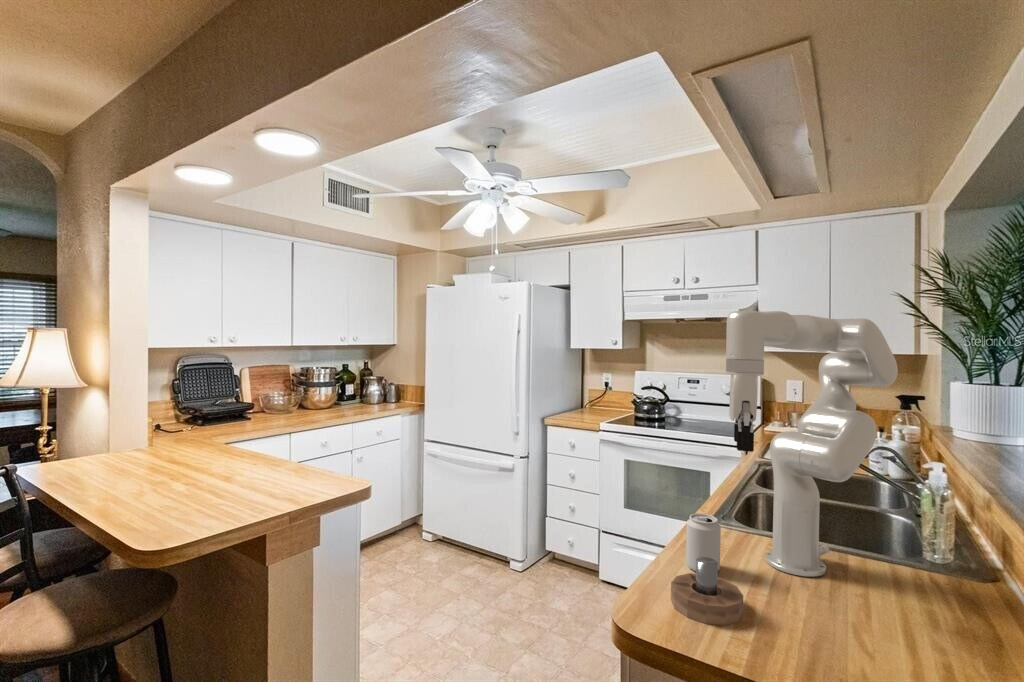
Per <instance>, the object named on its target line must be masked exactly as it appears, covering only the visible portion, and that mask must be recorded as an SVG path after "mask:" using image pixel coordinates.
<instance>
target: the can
mask: <svg viewBox="0 0 1024 682" xmlns="http://www.w3.org/2000/svg"><path fill="white" fill-rule="evenodd" d="M721 531H722V528H721V524H720V523H719V520H718V518H717V517H715V516H713V515H711V514H706V513H692V514H690V515H689V519H688V520H687V521H686V531H685V532H686V536H685V539H686V541H685V564H686V566H687V567H688V568H689V569H690V570H691V569H692V570H691V571H693V572H695V573H696V559H697V558H699V557H707V558H711V559H714V560H716V561H717V562H718V571H719V570H720V569H721V540H722V539H721V536H722V535H721V533H722V532H721Z"/></svg>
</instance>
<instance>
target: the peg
mask: <svg viewBox="0 0 1024 682" xmlns="http://www.w3.org/2000/svg"><path fill="white" fill-rule="evenodd" d="M718 572H719V570H718V562H717V561H716V560H714V559H711V558H707V557H699V558H697V559H696V572H695V574H696V592H698V593H700V594H703V595H707V596H716V595H717V582H718V578H719V577H718V575H719V573H718Z"/></svg>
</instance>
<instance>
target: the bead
mask: <svg viewBox="0 0 1024 682" xmlns="http://www.w3.org/2000/svg"><path fill="white" fill-rule="evenodd" d="M670 601H671V604H672V606H673V608H674V610H676V611H678V612H679V613H680V614H681V615H683V616H684V617H686V618H687V619H691V620H694V621H696V622H699V623H703V624H705V625H715V626H716V625H717V626H728V625H731V624H735V623H737V622H740V620H741V618H742V617H743V614H744V594H743V593H742V592H741V590H740V589H739V587H738V586H737V585H735V584H733V583H731V582H730V581H729V580H726V579H724V578H722V577H718V582H717V595H716V596H707V595H703V594H700V593H698V592H696V572H695V573H694V572H693V573H692V572H691V573H690V572H687V573H684V574H679V575H676V576H675V577H674V578H673V579H672V581H671V582H670Z"/></svg>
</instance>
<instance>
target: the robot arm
mask: <svg viewBox="0 0 1024 682" xmlns="http://www.w3.org/2000/svg"><path fill="white" fill-rule="evenodd" d="M726 316H727V317H726V334H725V335H726V336H725V337H726V347H725V349H726V351H725V353H726V354H725V357H726V358H725V374H726V375H730V383H729V384H730V385H729V411H728V413H729V414H728V415H729V418H730V420H731V421H733V422H735V423H734V425H733V441H734V442H736V450H737V451H739V452H749V453H750V452H751V453H753V452H754V451H755V449H754V447H755V440H754V439H755V433H754V422H755V421H756V420H757V411H758V394H759V393H758V392H759V391H758V390H759V389H758V387H759V384H758V382H759V379H758V377H759V376H760V377H761V376H765V373H764V372H765V347H768V348H769V347H770V348H775V349H776V348H778V349H784V350H791V351H792V350H793V351H804V352H805V351H807V352H816V353H817V352H818V353H827V354H825V355H824V356H823V357H822V358H821V359H820V361H819V365H818V382H819V393H818V394H819V395H818V396H817V397H816V399H815V400H814V401H813V402H812V404H811V405H810V406H809V407H808V408H807V409H806V410H805V412H804V413H803V414H802V415H801V417H800V418H799V420H798V423H797V427H796V428H797V431H791V430H790V431H787V430H786V431H782V432H779V433H777V434H775V435H774V437H773V438H772V439H771V442H770V445H769V455H770V461H771V466H772V472H773V508H772V509H773V512H772V513H773V516H772V549H771V550H767V552H766V553H765V554H764V555H765V557H764V558H765V561H766V562H767V564H769V566H771V567H772V568H774V569H777V570H779V571H781V572H784V573H787V574H790V575H794V576H800V577H810V578H811V577H813V578H815V577H820V576H824V575H825V574H826V572H827V565H826V564H825V563H824V562H823V561H822V560H821V556H823V555H827V554H829V553H830V547H829V546H828V545H826V544H823V545H820V544H819V543H820V542H819V541H820V531H819V530H820V504H821V503H820V502H821V498H820V497H821V496H820V491H819V487H818V486H817V483H816V482H815V480H814V478H815V479H820V480H824V481H827V482H828V481H829V482H832V483H833V482H834V483H843V482H845V481H848V480H849V479H850V478H852V476H853V475H854V474H855V472H856V470H858V468H859V467H860V465H861V464H862V462H863V461H865V459H866V457H867V456H868V454H869V453H870V451H871V450H872V448H873V447H874V445H875V442H876V438H877V424H876V421H875V420H874V419H873V417H872V416H871V415H869V414H868V413H867V412H864V411H861V410H857V403H856V402H857V401H856V400H855V398H854V396H853V395H852V393H851V392H850V391H849V390H848V389H847V385H848V386H861V387H862V386H863V387H873V388H887V387H889V386H891V385H893V384H894V382H895V381H896V380H897V377H898V374H899V371H898V370H899V369H898V368H899V367H898V364H897V360H896V358H895V356H894V354H893V352H892V349H891V348H890V346H889V343H888V342H887V340H886V338H885V336H884V334H883V332H882V330H881V329H880V327H878V325H877V324H876V323H875V322H874V321H872V320H871V319H869V318H830V317H829V318H828V317H822V316H815V315H809V314H790V313H788V312H786V311H780V310H771V311H768V310H767V311H758V310H736V311H731V312H729V313H728V315H726Z"/></svg>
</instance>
